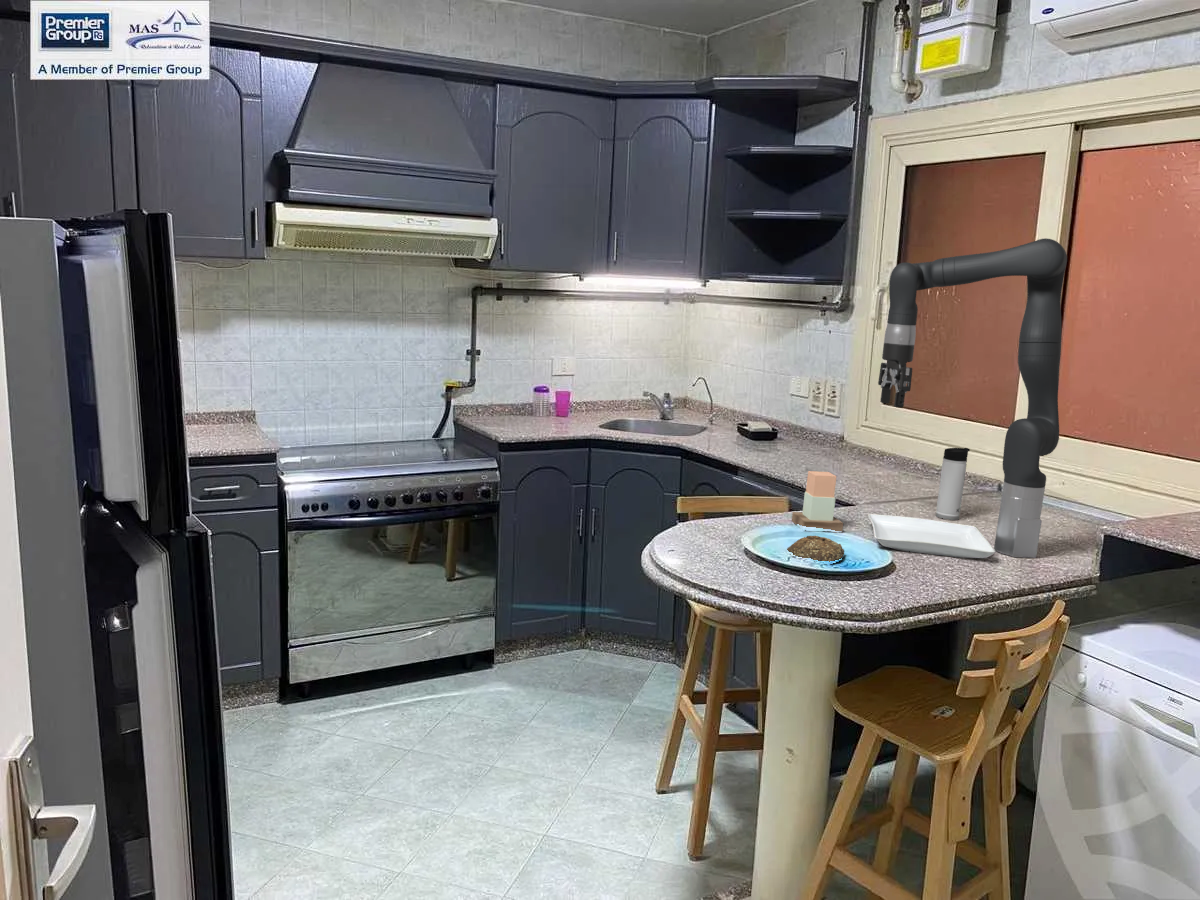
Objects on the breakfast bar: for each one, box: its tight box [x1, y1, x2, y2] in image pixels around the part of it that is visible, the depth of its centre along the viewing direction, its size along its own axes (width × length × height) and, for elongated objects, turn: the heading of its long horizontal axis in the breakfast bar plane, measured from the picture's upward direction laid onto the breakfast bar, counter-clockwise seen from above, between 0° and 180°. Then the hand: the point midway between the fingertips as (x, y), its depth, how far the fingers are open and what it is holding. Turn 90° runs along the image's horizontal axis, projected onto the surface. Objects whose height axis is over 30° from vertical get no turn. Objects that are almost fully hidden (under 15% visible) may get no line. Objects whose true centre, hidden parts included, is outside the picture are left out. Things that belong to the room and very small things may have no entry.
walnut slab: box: [791, 511, 844, 532], centre depth 242 cm, size 10×10×2 cm
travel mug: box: [935, 447, 970, 521], centre depth 261 cm, size 6×7×20 cm
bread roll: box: [786, 535, 845, 562], centre depth 214 cm, size 13×12×5 cm
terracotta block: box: [805, 470, 837, 498], centre depth 240 cm, size 6×6×6 cm
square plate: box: [867, 513, 996, 559], centre depth 233 cm, size 27×27×4 cm
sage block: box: [802, 491, 836, 521], centre depth 241 cm, size 6×6×6 cm
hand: (891, 405), depth 242 cm, fingers open, 8 cm apart
